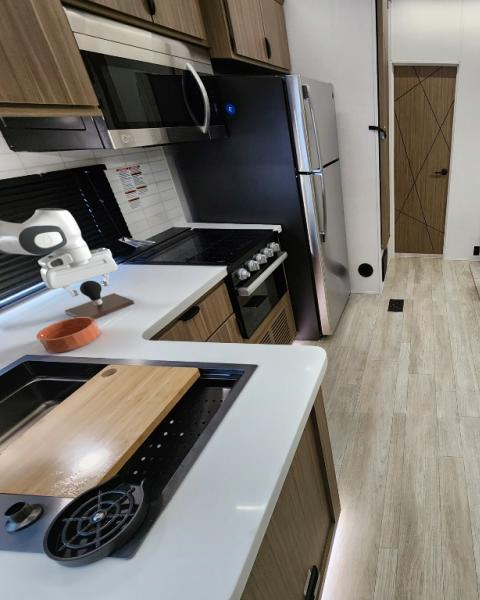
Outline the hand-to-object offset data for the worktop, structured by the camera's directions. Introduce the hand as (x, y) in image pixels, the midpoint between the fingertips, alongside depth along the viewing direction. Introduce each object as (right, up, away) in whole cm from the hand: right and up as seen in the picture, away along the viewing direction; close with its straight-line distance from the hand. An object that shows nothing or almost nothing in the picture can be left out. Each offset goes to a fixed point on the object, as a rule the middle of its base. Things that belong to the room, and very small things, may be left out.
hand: (91, 290), depth 121 cm
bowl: (+8, -17, -15) cm, 24 cm away
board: (0, -7, +4) cm, 8 cm away
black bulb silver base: (0, -6, +3) cm, 7 cm away
